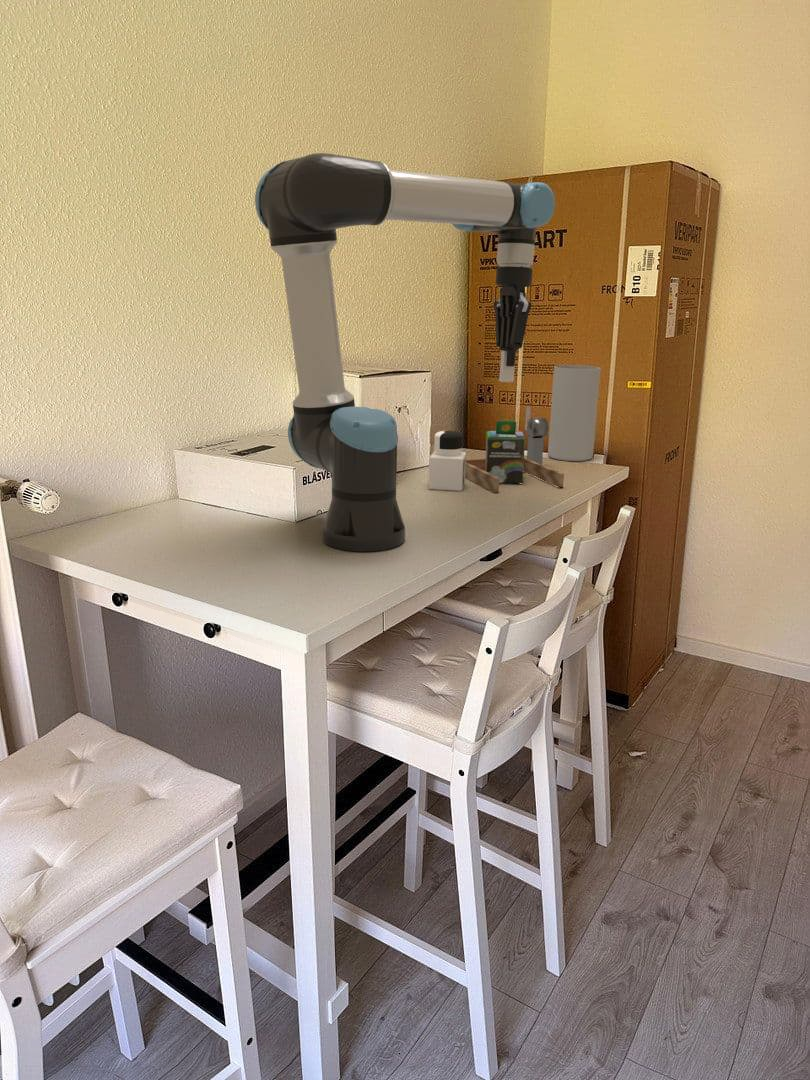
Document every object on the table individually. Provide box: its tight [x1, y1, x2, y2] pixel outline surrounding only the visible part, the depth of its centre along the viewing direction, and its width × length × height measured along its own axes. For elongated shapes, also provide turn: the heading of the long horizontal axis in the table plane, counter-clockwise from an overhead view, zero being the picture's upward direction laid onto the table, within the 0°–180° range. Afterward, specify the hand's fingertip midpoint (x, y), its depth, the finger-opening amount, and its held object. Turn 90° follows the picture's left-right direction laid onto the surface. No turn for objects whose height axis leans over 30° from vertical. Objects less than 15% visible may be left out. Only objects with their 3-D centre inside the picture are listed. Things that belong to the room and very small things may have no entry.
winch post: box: [524, 406, 549, 465], centre depth 204 cm, size 5×5×16 cm
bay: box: [465, 457, 565, 493], centre depth 190 cm, size 21×18×4 cm
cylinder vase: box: [547, 364, 602, 462], centre depth 216 cm, size 12×12×25 cm
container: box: [428, 430, 467, 492], centre depth 182 cm, size 8×8×13 cm
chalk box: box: [485, 420, 526, 484], centre depth 189 cm, size 9×9×15 cm
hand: (506, 381), depth 169 cm, fingers closed
